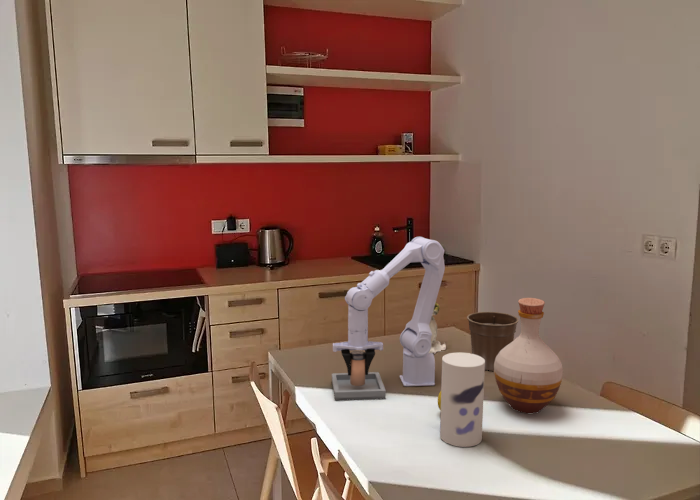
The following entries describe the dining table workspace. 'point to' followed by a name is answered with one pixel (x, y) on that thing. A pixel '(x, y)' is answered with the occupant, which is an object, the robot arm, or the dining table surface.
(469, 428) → the container
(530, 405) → the jug
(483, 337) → the plant pot
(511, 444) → the dining table surface
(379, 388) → the tray
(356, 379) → the shaker
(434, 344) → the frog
